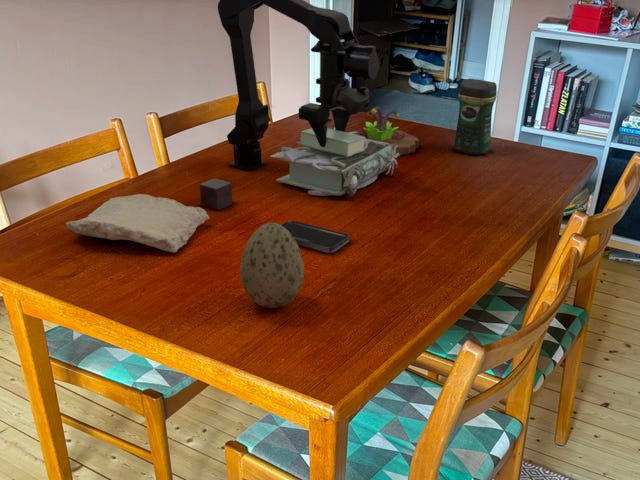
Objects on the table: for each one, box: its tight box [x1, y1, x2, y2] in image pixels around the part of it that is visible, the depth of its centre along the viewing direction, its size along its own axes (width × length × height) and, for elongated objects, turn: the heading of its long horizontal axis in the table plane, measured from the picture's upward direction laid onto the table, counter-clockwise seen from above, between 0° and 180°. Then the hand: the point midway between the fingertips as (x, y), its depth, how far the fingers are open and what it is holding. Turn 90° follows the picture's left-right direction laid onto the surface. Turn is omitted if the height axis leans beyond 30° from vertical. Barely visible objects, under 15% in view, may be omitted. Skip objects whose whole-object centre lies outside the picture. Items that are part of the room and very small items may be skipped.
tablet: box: [65, 193, 210, 254], centre depth 151 cm, size 24×8×20 cm
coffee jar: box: [453, 78, 498, 156], centre depth 198 cm, size 10×8×19 cm
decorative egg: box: [239, 222, 305, 309], centre depth 125 cm, size 11×11×15 cm
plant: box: [352, 106, 420, 157], centre depth 201 cm, size 20×20×11 cm
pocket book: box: [300, 127, 365, 157], centre depth 175 cm, size 14×7×3 cm, turn 52°
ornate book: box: [270, 126, 401, 198], centre depth 181 cm, size 23×10×30 cm
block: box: [199, 178, 234, 211], centre depth 166 cm, size 5×5×5 cm
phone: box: [280, 220, 350, 254], centre depth 152 cm, size 8×1×15 cm
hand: (331, 143), depth 176 cm, fingers closed on pocket book, 7 cm apart
